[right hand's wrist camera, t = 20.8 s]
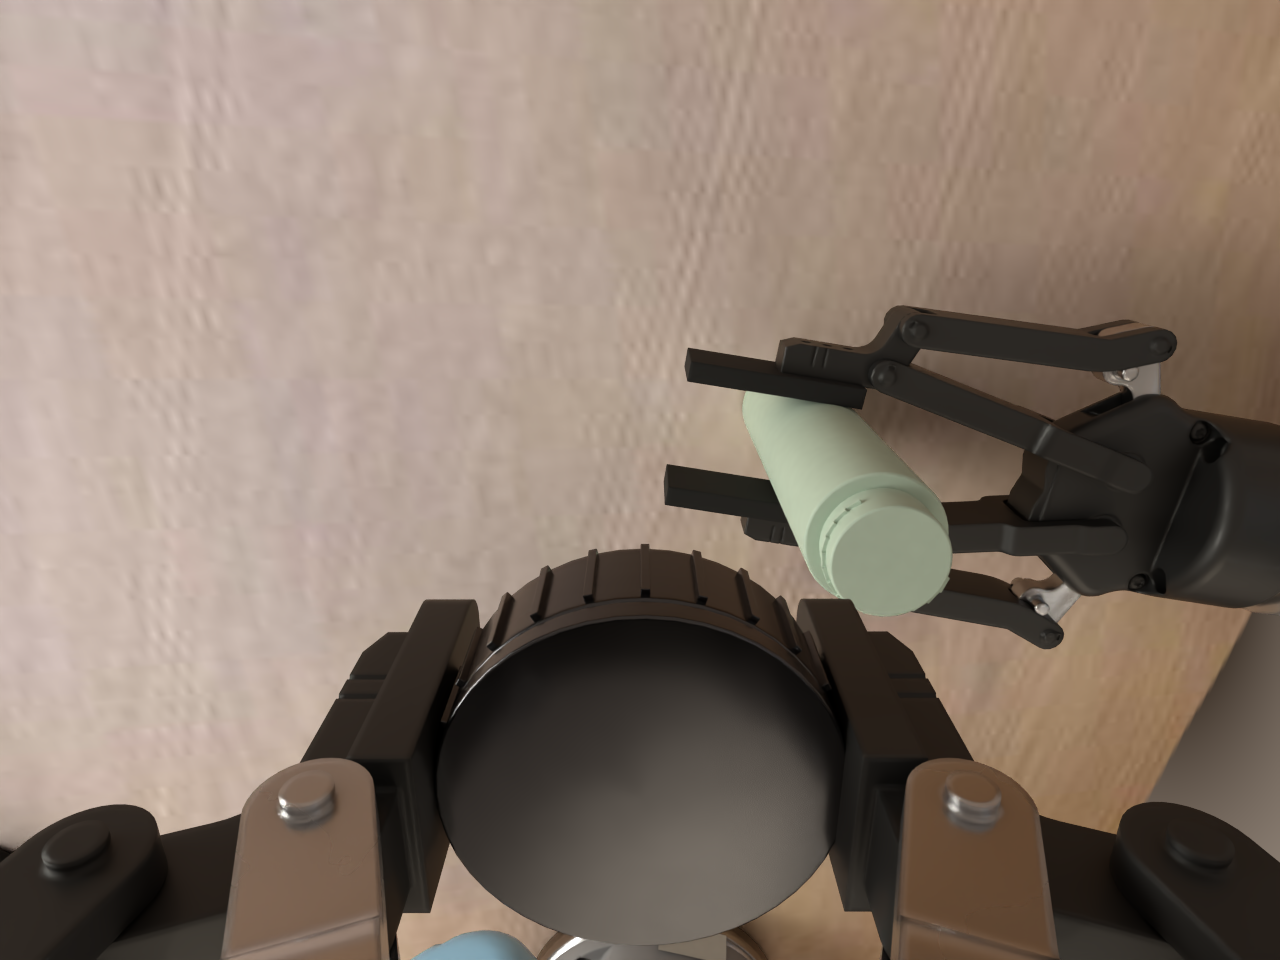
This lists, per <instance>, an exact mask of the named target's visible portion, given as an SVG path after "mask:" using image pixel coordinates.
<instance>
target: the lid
mask: <svg viewBox="0 0 1280 960" xmlns="http://www.w3.org/2000/svg"><path fill="white" fill-rule="evenodd" d="M831 689H832V688H831V685H830V683H829V680H828V677H827V675H826V672H825V669H824V666H823V664H822V661H821V658H820V656H819V653H818V650H817V647H816V645H815V642H814V639H813V637H812V635H811V633H810V631H807V632H804V633H803V631H802V630H801V628H800V627H799V625H798V624H797V622H796V621H795V619H794V618H793V617H792V616H791V614H790V612H789V609H788V606H787V603H786V600H785V599H784V598H783V597H782V596H779V597H778V598H776V599H775V598H774V597H773V596H772V595H771V594H769V593H768V592H767V591H766V590H765V589H764V588H762V587H761V586H760V585H758V584H757V583H755V582H753V581H752V580H750V578H749V575H748V571H746V570H744V569H743V568H740V570H739V571H738V572H736V571H734V570H732V569H730V568H728V567H726V566H724V565H721V564H719V563H717V562H714V561H711V560H708V559H704V558H702V556H701V552H699V551H695V550H693V551H692V554H685V553H680V552H675V551H670V550H656V549H649V544H641V549H628V550H616V551H610V552H604V553H598V551H597V549H593V550H589V553H588V556H587V557H583V558H580V559H576V560H573V561H570V562H568V563H566V564H563V565H561V566H559V567H556V568H554V569H552V570H551V569H550V567H549V566H546V567H544V568H542V569H541V572H540V576H539V577H537V578H536V579H534V580H532V581H530V582H529V583H527V584H526V585H525V586H523V587H522V588H521V589H520V590H518V591H517V592H516V593H515V594H513V595H512V596H511V595H510V594H509V593H508V592H507V593H506V594H504V595H503V596H502V598H501V602H500V605H499V608H498V610H497V611H496V612H495V613H494V614H493V616H492V617H491V618H490V620H489V621H488V623H487V624H486V625H485V627H484V628H483V629H482V628H480V627H477V628H476V630H475V631H474V633H473V636H472V639H471V642H470V645H469V647H468V650H467V653H466V656H465V659H464V662H463V664H462V666H460V667H459V670H458V673H457V676H456V678H455V681H454V684H453V687H452V690H451V692H450V695H449V698H448V701H447V703H446V706H445V709H444V712H443V715H442V717H441V720H440V724H439V728H442V729H444V732H443V735H442V738H441V741H440V744H439V747H438V751H437V758H436V765H435V796H436V801H437V807H438V812H439V816H440V819H441V822H442V825H443V828H444V831H445V833H446V836H447V838H448V840H449V842H450V844H451V845H452V847H453V849H454V851H455V853H456V855H457V856H458V858H459V859H460V860H461V862H462V863H463V864H464V866H465V867H466V869H467V870H468V871H469V873H470V874H471V875H472V876H473V877H474V878H475V879H476V880H477V881H478V882H479V883H480V884H481V885H482V886H483V887H484V888H485V889H486V890H487V891H488V892H489V893H491V894H492V895H493V896H494V897H496V898H497V899H498V900H499V901H501V902H502V903H503V904H505V905H506V906H508V907H509V908H511V909H513V910H514V911H516V912H517V913H519V914H520V915H522V916H524V917H526V918H528V919H530V920H532V921H534V922H536V923H538V924H540V925H542V926H544V927H547V928H550V929H553V930H555V931H558V932H561V933H564V934H566V935H570V936H574V937H578V938H582V939H586V940H590V941H595V942H602V943H608V944H615V945H633V946H649V945H667V944H675V943H682V942H689V941H694V940H698V939H702V938H706V937H711V936H714V935H717V934H720V933H723V932H726V931H729V930H732V929H735V928H737V927H739V926H741V925H744V924H746V923H748V922H750V921H752V920H754V919H757V918H758V917H760V916H762V915H763V914H765V913H767V912H768V911H770V910H772V909H773V908H775V907H777V906H778V905H779V904H781V903H782V902H783V901H785V900H786V899H787V898H789V897H790V896H791V895H792V894H794V893H795V892H796V891H797V890H798V889H799V888H800V887H801V886H802V885H803V884H804V883H805V882H806V881H807V880H808V879H809V878H810V877H811V876H812V875H813V874H814V873H815V871H816V870H817V869H818V867H819V866H820V865H821V864H822V862H823V861H824V860H825V858H826V857H827V855H828V853H829V851H830V850H831V848H832V846H833V844H834V843H835V840H836V833H837V824H838V815H839V806H840V798H841V789H842V780H843V772H844V763H845V752H846V747H845V742H844V738H843V735H842V732H841V729H840V726H839V723H838V720H837V718H836V715H835V712H834V709H833V706H832V704H831V701H830V698H829V695H828V692H827V691H829V690H831Z"/></svg>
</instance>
